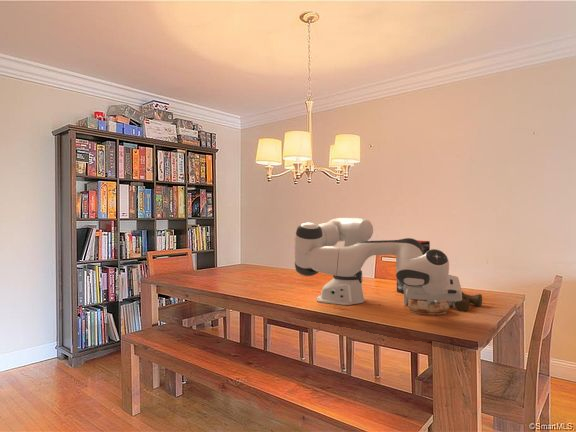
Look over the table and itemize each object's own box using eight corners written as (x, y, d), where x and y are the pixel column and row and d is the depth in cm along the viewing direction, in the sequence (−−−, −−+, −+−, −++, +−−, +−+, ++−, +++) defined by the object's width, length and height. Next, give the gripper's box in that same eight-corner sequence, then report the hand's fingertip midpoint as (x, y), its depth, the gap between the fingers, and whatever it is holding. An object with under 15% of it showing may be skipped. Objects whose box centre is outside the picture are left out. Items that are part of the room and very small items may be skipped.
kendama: (448, 311, 156) (461, 300, 172) (473, 315, 150) (484, 304, 166) (449, 297, 156) (461, 288, 172) (474, 300, 150) (484, 291, 165)
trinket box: (454, 313, 151) (454, 294, 151) (426, 318, 145) (426, 298, 145) (429, 306, 163) (429, 288, 163) (402, 310, 157) (402, 291, 157)
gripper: (405, 288, 139) (405, 308, 149) (464, 291, 133) (460, 311, 143) (404, 275, 144) (404, 295, 153) (462, 276, 138) (459, 297, 147)
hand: (432, 303), depth 148 cm, fingers closed
